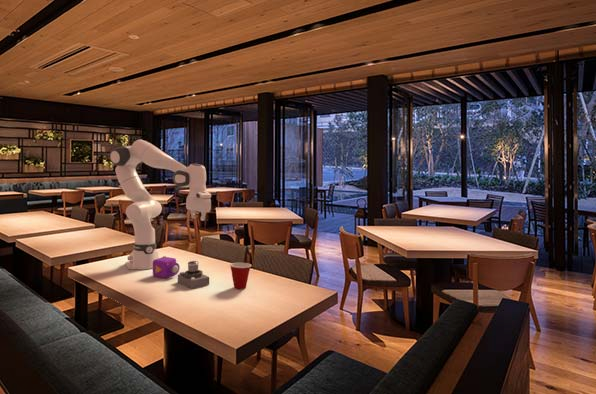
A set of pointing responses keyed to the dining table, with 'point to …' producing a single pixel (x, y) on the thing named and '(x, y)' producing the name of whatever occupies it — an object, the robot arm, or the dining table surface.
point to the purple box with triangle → (165, 267)
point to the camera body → (193, 279)
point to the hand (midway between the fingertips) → (197, 219)
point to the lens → (193, 267)
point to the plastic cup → (240, 274)
